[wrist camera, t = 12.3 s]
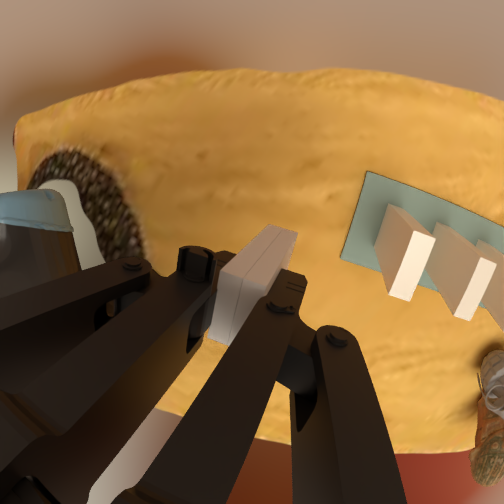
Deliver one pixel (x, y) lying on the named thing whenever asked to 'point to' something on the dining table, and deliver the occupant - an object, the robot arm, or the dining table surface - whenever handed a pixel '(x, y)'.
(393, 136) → the dining table surface
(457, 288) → the domino
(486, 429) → the figurine
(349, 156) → the dining table surface
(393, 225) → the domino
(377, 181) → the strip
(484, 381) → the hand grenade
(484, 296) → the domino
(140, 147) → the dining table surface
